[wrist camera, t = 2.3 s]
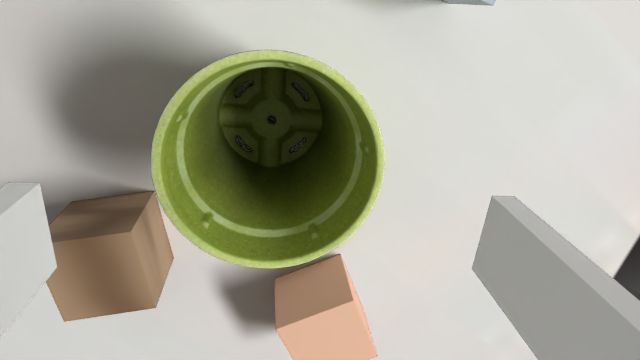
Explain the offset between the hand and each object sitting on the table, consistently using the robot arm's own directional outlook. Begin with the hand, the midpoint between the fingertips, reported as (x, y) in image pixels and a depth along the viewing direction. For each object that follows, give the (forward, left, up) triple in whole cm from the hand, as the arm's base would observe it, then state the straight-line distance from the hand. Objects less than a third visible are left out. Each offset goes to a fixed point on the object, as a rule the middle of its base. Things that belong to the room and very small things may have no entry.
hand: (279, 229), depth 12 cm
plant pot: (0, 0, -14) cm, 14 cm away
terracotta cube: (+4, -13, -14) cm, 19 cm away
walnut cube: (-9, -8, -14) cm, 18 cm away
